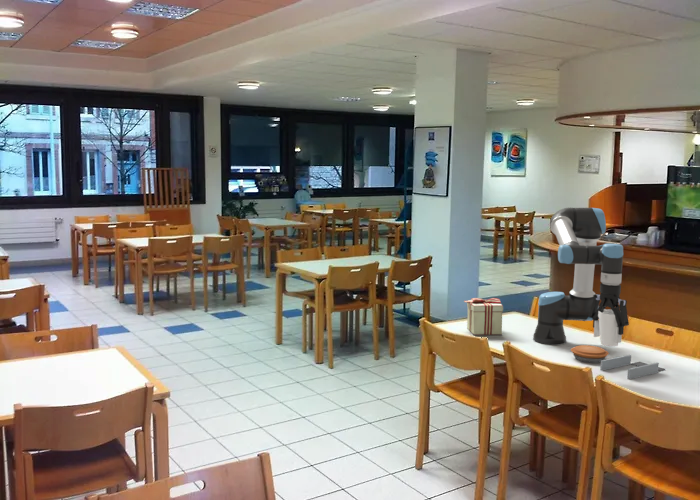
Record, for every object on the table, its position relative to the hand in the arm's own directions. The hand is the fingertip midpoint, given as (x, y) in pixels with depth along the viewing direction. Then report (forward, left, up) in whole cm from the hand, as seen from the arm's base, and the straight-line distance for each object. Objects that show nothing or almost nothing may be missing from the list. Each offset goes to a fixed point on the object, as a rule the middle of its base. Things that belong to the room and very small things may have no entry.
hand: (607, 339), depth 257 cm
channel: (0, +14, -15) cm, 21 cm away
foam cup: (0, +1, -2) cm, 3 cm away
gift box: (-80, +6, -15) cm, 81 cm away
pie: (-20, +14, -15) cm, 29 cm away
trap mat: (0, +26, -15) cm, 30 cm away
